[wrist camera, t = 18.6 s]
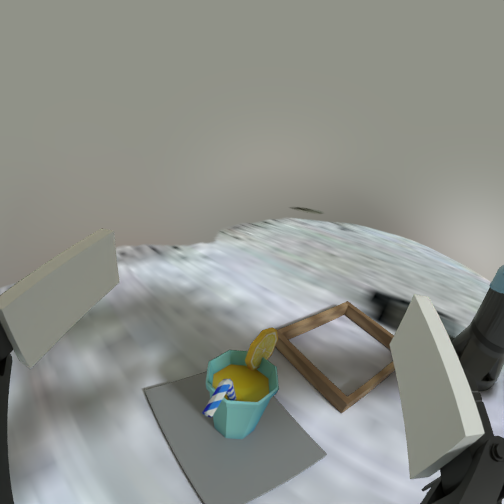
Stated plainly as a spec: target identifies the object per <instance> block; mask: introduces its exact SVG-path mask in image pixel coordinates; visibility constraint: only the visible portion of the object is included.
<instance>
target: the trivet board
mask: <svg viewBox="0 0 504 504" xmlns="http://www.w3.org/2000/svg"><path fill="white" fill-rule="evenodd" d="M206 377H207V372H204V373H201V374H197V375H194V376H191V377H188V378H185V379H181V380H178V381H175V382H171V383H168V384H164V385H161V386H157V387H154V388H150V389H146V390H145V393H146V396H147V398H148V400H149V403H150V405H151V407H152V409H153V412H154V414H155V416H156V418H157V420H158V422H159V425H160V427H161V429H162V431H163V433H164V435H165V437H166V439H167V441H168V443H169V445H170V447H171V448H172V450H173V452H174V454H175V456H176V458H177V460H178V461H179V463H180V465H181V467H182V468H183V470H184V472H185V474H186V475H187V477H188V479H189V480H190V482H191V484H192V485H193V487H194V488H195V490H196V492H197V493H198V495H199V496H200V498H201V499H202V501H203V502H204V504H245V503H247V502H250V501H252V500H254V499H256V498H258V497H260V496H261V495H263V494H265V493H267V492H269V491H271V490H273V489H274V488H276V487H278V486H280V485H282V484H283V483H285V482H287V481H288V480H290V479H292V478H293V477H295V476H297V475H298V474H300V473H301V472H303V471H305V470H306V469H308V468H309V467H311V466H312V465H314V464H315V463H317V462H318V461H320V460H321V459H322V458H324V457H325V456H326V455H327V454H326V453H325V452H324V451H323V449H322V448H321V447H320V446H319V445H318V444H317V443H316V442H315V441H314V440H313V439H312V438H311V437H310V436H309V435H308V434H307V433H306V431H305V430H304V429H303V428H302V427H301V426H300V425H299V424H298V423H297V422H296V421H295V419H294V418H293V417H292V416H291V415H290V414H289V413H288V412H287V410H286V409H285V408H284V407H283V406H282V405H281V404H280V403H279V401H278V400H277V399H276V398H275V397H274V396H272V397H271V399H270V401H269V403H268V405H267V407H266V409H265V410H264V412H263V414H262V416H261V418H260V420H259V422H258V424H257V425H256V427H255V429H254V431H252V432H251V433H250V434H249V435H247V436H246V437H245V438H243V439H230V438H225V437H224V436H223V435H222V434H221V433H220V432H219V431H217V430H216V429H215V427H214V420H213V416H212V417H211V418H210V417H207V416H206V415H204V414H203V413H202V412H203V410H204V409H205V407H206V405H207V404H208V402H209V400H210V392H209V391H208V390H207V388H206Z"/></svg>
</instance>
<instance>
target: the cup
mask: <svg viewBox="0 0 504 504" xmlns="http://www.w3.org/2000/svg"><path fill="white" fill-rule="evenodd" d="M277 341H278V335H277V330H276V329H274V328H268V329H265V330H262V332H261V333H260V334H259V335H258V336H257V337H256V339H255V340H254V341H253V342H252V343H251V345H250V348H249V350H248V351H236V350H228V351H227V352H225V353H223V354H221V355H220V356H218V357H216V358H214V359H213V360H211V361H209V362H208V369H207V377H206V388H207V390H208V391H209V392H210V400H209V402H208V404H207V405H206V407H205V409H204V410H203V412H202V413H203V414H204V415H206V416H207V417H210V418H211V417H212V416H213V420H214V427H215V429H216V430H217V431H219V432H220V433H221V434H222V435H223V436H224V437H225V438H230V439H243V438H245V437H246V436H247V435H249V434H250V433H251V432H252V431H254V429H255V427H256V425H257V424H258V422H259V420H260V418H261V416H262V414H263V412H264V410H265V409H266V407H267V405H268V403H269V401H270V399H271V397H272V396H274V395H275V394H276V393H277V391H278V389H279V386H278V376H277V367H276V366H274V365H273V364H272V363H270V362H269V361H268V358H269V357H270V356H271V355H272V353H273V351H274V348H275V346H276V343H277Z"/></svg>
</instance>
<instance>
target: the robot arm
mask: <svg viewBox="0 0 504 504" xmlns="http://www.w3.org/2000/svg"><path fill="white" fill-rule="evenodd" d="M118 283H119V275H118V267H117V258H116V248H115V237H114V231H112V230H107V229H103V228H102V229H100V230H98V231H97V232H95V233H93V234H91V235H90V236H88V237H86V238H85V239H83V240H82V241H80V242H78V243H77V244H75V245H73V246H72V247H70V248H68V249H67V250H65V251H64V252H62V253H61V254H59V255H57V256H56V257H54V258H53V259H51V260H50V261H48V262H47V263H45V264H44V265H42V266H41V267H39V268H38V269H37V270H35V271H34V272H32V273H31V274H29V275H28V276H26V277H25V278H23V279H22V280H21V281H19V282H18V283H16V284H15V285H14V286H12V287H11V288H9V289H8V290H7V291H5V292H4V293H3V294H2V295H0V504H14V501H13V495H12V489H11V482H10V473H9V463H8V445H7V413H8V395H9V384H10V374H11V367H12V356H11V354H10V352H11V351H12V350H14V352H15V353H16V355H17V357H18V359H19V361H20V362H22V363H23V364H24V365H25V366H27V367H28V368H29V369H31V368H32V367H33V366H34V365H35V364H36V363H37V362H38V361H39V360H40V359H41V358H42V357H43V356H44V355H45V354H46V353H47V352H48V350H49V349H50V348H51V347H52V346H53V345H54V344H55V343H56V342H57V341H58V340H59V339H60V338H61V337H62V336H63V335H64V334H65V333H66V332H67V331H68V330H69V329H70V328H71V327H72V326H73V325H74V324H75V323H76V322H78V321H79V320H80V319H81V318H82V317H83V316H84V315H85V314H86V313H87V312H88V311H89V310H90V309H91V308H92V307H93V306H94V305H95V304H96V303H98V302H99V301H100V300H101V299H102V298H103V297H104V296H105V295H106V294H107V293H108V292H109V291H111V290H112V289H113V288H114V287H115V286H116V285H117V284H118ZM389 345H390V349H391V354H392V358H393V363H394V367H395V372H396V377H397V382H398V387H399V393H400V399H401V404H402V411H403V417H404V424H405V432H406V440H407V449H408V459H409V471H410V479H416V478H424V477H429V476H431V475H432V474H434V473H435V472H437V471H438V470H440V472H441V476H440V477H439V478H437V479H436V480H434V481H432V482H431V483H429V484H428V485H426V486H425V487H424V488H423V489H422V491H425V490H427V489H428V488H430V487H431V489H430V490H429V492H427V495H426V496H425V498H424V499H423V501H422V502H421V503H420V504H502V499H503V498H504V438H502V437H500V436H494V434H493V431H492V428H491V424H490V421H489V418H488V415H487V412H486V409H485V406H484V403H483V402H482V398H481V395H480V393H478V391H482V390H487V389H489V388H490V387H491V386H492V385H493V384H494V382H495V381H496V380H497V378H498V377H499V374H500V372H501V369H502V367H503V364H504V265H503V266H501V267H500V268H499V269H498V271H497V273H496V275H495V277H494V279H493V281H492V282H491V283H490V288H489V290H488V292H487V294H486V296H485V298H484V300H483V302H482V304H481V306H480V308H479V309H478V311H477V313H476V315H475V317H474V319H473V320H472V322H471V324H470V325H469V326H468V327H467V328H466V329H465V330H464V331H462V332H461V333H460V334H459V335H458V336H457V337H456V338H455V339H453V341H452V342H451V340H450V338H449V336H448V334H447V332H446V330H445V328H444V326H443V324H442V322H441V319H440V317H439V315H438V314H437V312H436V310H435V308H434V306H433V304H432V302H431V300H430V298H429V297H425V296H420V295H415V294H414V296H413V298H412V300H411V302H410V305H409V307H408V309H407V311H406V313H405V315H404V317H403V319H402V321H401V323H400V325H399V327H398V329H397V331H396V333H395V335H394V337H393V339H392V341H391V343H390V344H389Z"/></svg>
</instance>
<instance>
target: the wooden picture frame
mask: <svg viewBox="0 0 504 504" xmlns="http://www.w3.org/2000/svg"><path fill="white" fill-rule="evenodd" d="M344 314H345V315H346V316H347V317H349V318H350V319H351V320H352V321H354V322H355V323H356V324H358V325H359V326H360V327H361V328H363V329H364V330H365V331H367V332H368V333H369V334H371V335H372V336H373V337H374V338H376V339H377V340H378V341H380V342H381V343H382V344H383V345H385V346H386V347H387V348H389V349H390V345H389V344H390V343H391V341H392V339H393V337H394V335H392V334H391V333H390V332H388V331H387V330H386V329H384V328H383V327H382V326H380V325H379V324H378V323H376V322H375V321H374V320H372V319H371V318H370V317H368V316H367V315H366V314H364V313H363V312H361V311H360V310H359V309H357V308H356V307H355V306H353V305H352V304H351V303H349V302H348V301H347V302H345V303H342V304H340V305H338V306H336V307H333V308H331V309H329V310H326V311H324V312H321V313H319V314H317V315H314V316H312V317H309V318H307V319H304V320H302V321H299V322H297V323H294V324H292V325H289V326H286V327H284V328H281V329H278V330H277V335H278V341H277V343H276V346H275V347H276V348H277V349H278V350H279V351H280V352H281V353H282V354H283V355H284V356H285V357H286V358H287V359H288V361H289V362H290V363H291V364H292V365H293V366H294V367H295V368H296V369H297V370H298V371H299V372H300V373H301V374H302V375H303V376H304V377H305V378H306V379H307V380H308V381H309V382H310V383H311V384H312V385H313V386H314V387H315V388H316V389H317V390H318V391H319V392H320V393H321V394H322V395H323V396H324V397H325V398H326V399H327V400H328V401H329V402H330V403H331V404H332V405H333V406H334V407H335V408H336V409H337V410H338V411H339V412H340V413H343V412H344V411H345V410H347V409H348V408H349V407H351V406H352V405H353V404H355V403H356V402H357V401H358V400H360V399H361V398H362V397H364V396H365V395H366V394H367V393H369V392H370V391H371V390H372V389H373V388H375V387H376V386H377V385H378V384H379V383H381V382H382V381H383V380H384V379H385V378H386V377H388V376H389V375H390V374H391V373H392V372H393V371H394V370H395V367H394V363H393V361H392V362H391V363H390V364H389V365H387V366H386V367H385V368H384V369H383V370H381V371H380V372H379V373H378V374H377V375H375V376H374V377H373V378H372V379H370V380H369V381H368V382H366V383H365V384H364V385H363V386H361V387H360V388H359V389H357V390H356V391H355V392H353V393H352V394H350V395H349V396H348V397H347V396H346V395H345V394H344V393H343V392H342V391H341V390H340V389H338V388H337V387H336V386H335V385H334V384H333V383H332V382H331V381H330V380H329V379H328V378H327V377H326V376H325V375H324V374H323V373H322V372H321V371H319V370H318V369H317V368H316V367H315V366H314V365H313V364H312V363H311V362H310V361H309V360H308V359H307V358H306V357H305V356H304V355H303V354H302V353H301V352H300V351H299V350H298V349H297V348H296V347H295V346H294V345H293V344H292V343H291V342H290V341H289V340H288V339H291V338H293V337H296V336H298V335H300V334H303V333H305V332H307V331H310V330H312V329H314V328H316V327H319V326H321V325H323V324H325V323H327V322H330V321H332V320H334V319H336V318H338V317H340V316H342V315H344ZM390 350H391V349H390Z"/></svg>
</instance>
